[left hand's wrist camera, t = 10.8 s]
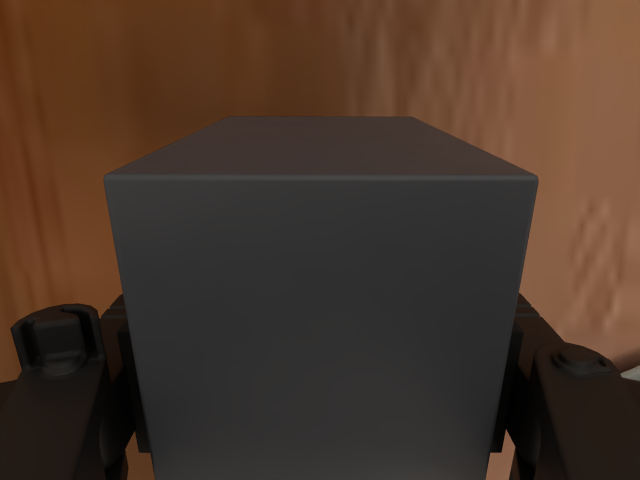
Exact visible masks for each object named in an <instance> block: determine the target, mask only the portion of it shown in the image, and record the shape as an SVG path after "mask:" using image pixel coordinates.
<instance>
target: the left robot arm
mask: <svg viewBox="0 0 640 480" xmlns="http://www.w3.org/2000/svg"><path fill="white" fill-rule="evenodd" d="M539 315H540V314H539V313H538V312H537V311H536V310H535V309H534V308H533V307H531V304H530V303H529V302H528V301H527V300H526V299H525V298H524V297H523V296H522V295H521V294H520V293H519V294H518V299H517V305H516V311H515V316H514V322H513V328H512V333H511V339H510V344H509V350H508V356H507V361H506V367H505V372H504V378H503V384H502V389H501V395H500V400H499V406H498V412H497V417H496V423H495V428H494V434H493V440H492V445H491V451H490V453H501V452H502V447H503V442H504V436H505V431H506V430H507V431H508V433H509V435H510V437H511V439H512V441H513V443H514V445H515V452H514V457H513V462H512V467H511V472H510V477H509V480H640V381H637V380H632V379H627V378H623V377H622V376H621V374H620V372H619V371H618V369H617V368H616V367H615V366H614V364H613V363H612V362H611V361H610V360H609V359H607V358H605V357H604V356H602V355H601V354H599V353H598V352H595V351H593V350H591V349H588V348H586V347H583V346H580V345H575V344H571V343H567V342H564V341H563V340H562V339H561V337H560V336H559V335H558V334H557V333H556V332H555V331H554V330H553V329H552V328H551V326H550V325H549V324H548V323H547V322H546V321H545V320H544V319H543V318H542V317H540V316H539ZM10 329H11V333H12V336H13V340H14V343H15V347H16V350H17V354H18V357H19V361H20V364H21V368H22V371H21V373H20V375H19V377H18V379H17V380H13V381H9V382H3V383H0V480H127V475H128V463H127V457H126V452H125V448H126V446H127V444H128V442H129V441H130V439H131V437H132V435H133V433H134V431H135V433H136V439H137V444H138V450H139V453H150V447H149V441H148V435H147V430H146V424H145V418H144V412H143V406H142V401H141V395H140V389H139V383H138V377H137V372H136V366H135V360H134V354H133V348H132V343H131V337H130V331H129V325H128V319H127V314H126V308H125V302H124V296H123V294H122V295H120V296H119V297H118V298H117V299H116V300H115V301H114V303H113V304H112V305H111V306H110V309H107V310H106V311H105V313H104V314H103V315H102V316H101V318H99V317H98V312H97V310H96V309H95V308H93V307H92V306H90V305H84V304H63V305H58V306H53V307H48V308H45V309H42V310H39V311H36V312H34V313H31V314H29V315H28V316H26V317H24V318H22V319H20V320H19V321H18V322H17V323H15V324H14V325H13V326H12V327H11V328H10Z"/></svg>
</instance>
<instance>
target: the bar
mask: <svg viewBox="0 0 640 480" xmlns="http://www.w3.org/2000/svg"><path fill="white" fill-rule="evenodd" d="M104 186H105V192H106V198H107V204H108V209H109V215H110V221H111V227H112V232H113V238H114V244H115V250H116V256H117V261H118V267H119V273H120V279H121V285H122V290H123V296H124V302H125V308H126V314H127V319H128V325H129V331H130V337H131V343H132V348H133V354H134V360H135V366H136V372H137V377H138V383H139V389H140V395H141V401H142V406H143V412H144V418H145V424H146V430H147V435H148V441H149V447H150V453H151V459H152V464H153V470H154V476H155V480H485V479H486V473H487V468H488V462H489V457H490V451H491V445H492V440H493V434H494V428H495V423H496V417H497V412H498V406H499V400H500V395H501V389H502V384H503V378H504V372H505V367H506V361H507V356H508V350H509V344H510V339H511V333H512V328H513V322H514V316H515V311H516V305H517V299H518V294H519V288H520V283H521V277H522V271H523V266H524V260H525V255H526V249H527V243H528V238H529V232H530V227H531V221H532V215H533V210H534V204H535V199H536V193H537V187H538V177H537V175H534V174H532V173H530V172H528V171H526V170H524V169H522V168H520V167H517V166H515V165H513V164H511V163H509V162H507V161H505V160H503V159H501V158H498V157H496V156H494V155H492V154H490V153H488V152H486V151H484V150H481V149H479V148H477V147H475V146H473V145H471V144H469V143H467V142H464V141H462V140H460V139H458V138H456V137H454V136H452V135H450V134H448V133H445V132H443V131H441V130H439V129H437V128H435V127H433V126H431V125H428V124H426V123H424V122H422V121H420V120H418V119H416V118H414V117H277V116H229V117H227V118H225V119H222V120H220V121H218V122H216V123H214V124H212V125H210V126H208V127H206V128H203V129H201V130H199V131H197V132H195V133H193V134H191V135H189V136H186V137H184V138H182V139H180V140H178V141H176V142H174V143H172V144H169V145H167V146H165V147H163V148H161V149H159V150H157V151H155V152H153V153H150V154H148V155H146V156H144V157H142V158H140V159H138V160H136V161H133V162H131V163H129V164H127V165H125V166H123V167H121V168H119V169H116V170H114V171H112V172H110V173H108V174H106V175H105V176H104Z"/></svg>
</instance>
